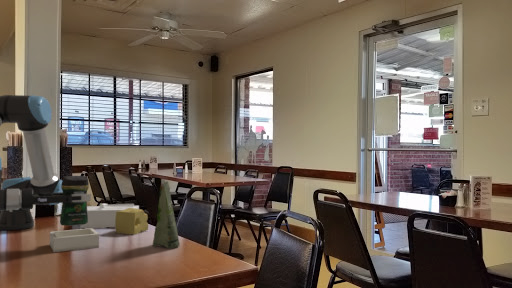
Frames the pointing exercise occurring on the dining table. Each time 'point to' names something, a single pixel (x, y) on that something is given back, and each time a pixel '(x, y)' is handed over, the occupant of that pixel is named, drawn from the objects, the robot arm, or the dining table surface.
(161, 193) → the pouch
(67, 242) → the tray
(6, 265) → the dining table surface
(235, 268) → the dining table surface
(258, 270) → the dining table surface
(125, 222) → the cheese
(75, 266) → the dining table surface
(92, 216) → the tissue box
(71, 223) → the coffee jar
